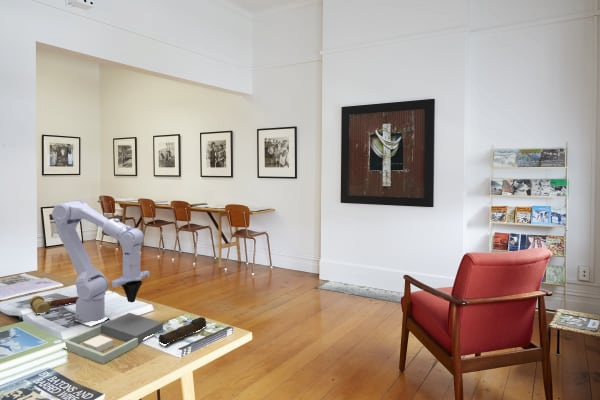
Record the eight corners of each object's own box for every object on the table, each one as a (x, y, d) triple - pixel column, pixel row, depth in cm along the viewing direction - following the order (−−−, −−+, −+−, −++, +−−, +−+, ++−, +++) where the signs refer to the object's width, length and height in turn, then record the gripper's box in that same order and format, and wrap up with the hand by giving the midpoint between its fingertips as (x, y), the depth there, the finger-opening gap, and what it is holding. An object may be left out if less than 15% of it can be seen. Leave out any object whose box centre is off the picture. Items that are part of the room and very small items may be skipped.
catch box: (62, 348, 127) (62, 340, 126) (98, 332, 138) (98, 325, 138) (103, 364, 119) (103, 355, 119) (138, 345, 131) (138, 338, 131)
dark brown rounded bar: (165, 349, 130) (165, 335, 130) (157, 344, 133) (158, 331, 132) (210, 330, 146) (211, 317, 145) (203, 327, 148) (203, 314, 147)
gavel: (88, 288, 170) (97, 296, 163) (87, 299, 170) (96, 307, 163) (29, 296, 155) (36, 304, 148) (28, 308, 155) (35, 316, 148)
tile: (100, 335, 132) (100, 342, 133) (83, 342, 127) (83, 349, 127) (112, 339, 130) (112, 347, 130) (96, 347, 124) (96, 355, 125)
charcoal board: (101, 333, 138) (100, 324, 138) (129, 320, 149) (129, 312, 148) (135, 344, 131) (135, 336, 131) (162, 330, 142) (162, 322, 142)
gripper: (122, 270, 133) (122, 310, 134) (156, 261, 146) (155, 297, 147) (107, 267, 136) (107, 306, 138) (141, 257, 149) (141, 293, 151)
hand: (131, 301), depth 143 cm, fingers closed
